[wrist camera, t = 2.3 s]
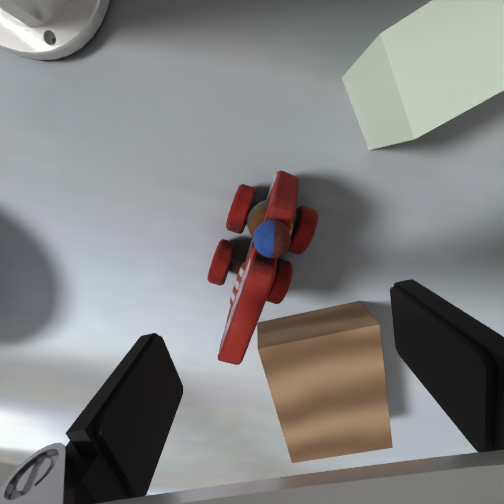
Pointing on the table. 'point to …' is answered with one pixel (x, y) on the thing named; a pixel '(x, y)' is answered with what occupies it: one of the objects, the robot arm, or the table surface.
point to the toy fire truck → (260, 257)
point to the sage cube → (428, 69)
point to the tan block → (327, 381)
